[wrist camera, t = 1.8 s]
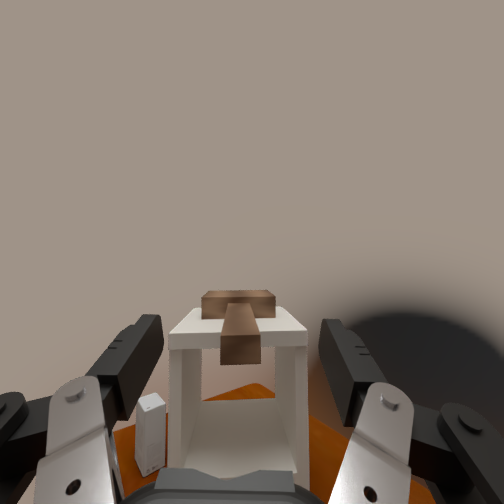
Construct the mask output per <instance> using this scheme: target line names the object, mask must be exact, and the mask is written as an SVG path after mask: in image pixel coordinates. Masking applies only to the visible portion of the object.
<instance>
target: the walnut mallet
mask: <svg viewBox="0 0 504 504" xmlns="http://www.w3.org/2000/svg"><path fill="white" fill-rule="evenodd" d="M275 303H276V300H275V296H274V295H273V294H272V293H270V292H269V291H268V290H241V291H240V290H239V291H208V292H207V293H206V294H205V295H204V296H203V297H202V307H201V320H204V319H224V323H223V327H222V331H221V335H220V349H221V350H220V365H241V364H242V365H243V364H261V334H260V331H259V328H258V326H257V323H256V320H255V318H276V306H275V305H276V304H275Z"/></svg>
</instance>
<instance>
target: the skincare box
mask: <svg viewBox="0 0 504 504" xmlns="http://www.w3.org/2000/svg"><path fill="white" fill-rule="evenodd" d="M165 427H166V403H165V402H164V401H163V400H162V399H161V397H160V396H159V395H158V394H157V393H152V394H149V395H146V396H143V397H141V398H139V400H138V402H137V405H136V438H135V460H136V462H137V465H138V467H139V469H140V471H141V474H142V476H143V477H145V476H147V475H149V474H151V473H153V472H154V471H156V470H158V469H160V468H161V467H163V466H164V465H165Z"/></svg>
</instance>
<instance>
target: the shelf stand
mask: <svg viewBox="0 0 504 504" xmlns="http://www.w3.org/2000/svg"><path fill="white" fill-rule="evenodd" d="M255 320H256V323H257V326H258V328H259V331H260V334H261V347H275V398H271V399H247V400H224V401H201V364H202V361H201V360H202V358H201V357H202V349H211V348H220V335H221V331H222V327H223V323H224V319H204V320H201V308H194V309H193V310H192V311H191V312H190V313H189V314H188V315H187V316H186V317H185V318H184V319H183V320H182V321H181V322H180V323H179V324H178V325H177V326H176V327H175V328H174V329H173V330H172V331H171V332H170V333H169V335H168V336H169V337H168V339H169V340H168V350H169V406H168V408H169V409H168V467H167V468H193V469H196V470H198V471H201V472H204V473H206V474H209V475H212V476H214V477H217V478H220V479H222V480H229V479H232V478H236V477H239V476H242V475H245V474H249V473H252V472H255V471H258V470H280V471H293V479H294V484H297V485H300V486H301V487H303V488H305V489H307V490H309V491H310V483H309V431H308V384H307V383H308V379H307V346H308V330H307V329H306V328H305V327H303V326H302V325H301V324H300V323H299V322H298V321H297V320H296V319H295V318H294V317H292V316H291V315H290V314H289V313H288V312H287V311H286V310H285V309H284V308H282V307H276V318H255Z"/></svg>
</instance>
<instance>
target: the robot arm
mask: <svg viewBox="0 0 504 504" xmlns="http://www.w3.org/2000/svg"><path fill="white" fill-rule="evenodd" d="M163 346H164V338H163V330H162V323H161V317H160V316H159V315H151V314H150V315H148V314H143V315H142V316H141V317H140V319H139V320H138V321H137V322H136V324H135V325H130V326H128V327H127V328H125V329H124V330H122V331H121V332H120V333H119V334H118V335H117V336H116V338H115V339H114V341H113V342H112V343H111V344H110V345H109V346H108V349H106V350H105V351H104V353H103V354H102V355H101V356H100V357H99V359H98V360H97V361H96V362H95V363H94V365H93V366H92V367H91V368H90V370H89V371H88V372H87V373H86V375H85V376H82V377H79V378H76V379H74V380H71V381H69V382H68V383H66V384H64V385H63V386H62V387H60V388H59V389H58V390H57V391H56V392H55V394H54V395H52V396H49V397H44V398H40V399H36V400H32V401H28V402H26V400H25V398H24V396H23V394H22V393H19V392H9V393H5V394H2V395H0V504H17V503H18V501H19V500H20V498H21V496H22V495H23V494H24V492H25V490H26V489H27V487H28V486H29V484H30V483H31V481H32V480H33V478H34V476H35V475H36V483H35V494H34V503H33V504H324V502H322V501H321V500H320V499H319V498H318V497H317V496H316V495H314V494H313V493H311V492H310V491H309V490H307V489H305V488H303V487H301V486H300V485H297V484H294V479H293V471H280V470H258V471H255V472H252V473H249V474H245V475H242V476H239V477H236V478H232V479H229V480H222V479H220V478H217V477H214V476H212V475H209V474H206V473H204V472H201V471H198V470H196V469H193V468H160V471H159V474H158V477H157V480H156V481H154V482H151V483H149V484H147V485H145V486H143V487H141V488H139V489H138V490H136V491H134V492H133V493H131V494H130V495H129V496H127V497H126V498H125V495H124V491H123V487H122V482H121V477H120V471H119V465H118V459H117V453H116V447H115V442H114V436H113V431H112V429H113V427H114V425H115V423H116V421H118V420H119V421H128V420H129V418H130V415H131V414H132V412H133V409H134V408H135V406H136V404H137V402H138V400H139V398H140V396H141V394H142V391H143V390H144V387H145V386H146V384H147V382H148V380H149V378H150V376H151V374H152V371H153V369H154V368H155V366H156V364H157V362H158V359H159V357H160V356H161V353H162V351H163ZM319 356H320V359H321V362H322V365H323V368H324V371H325V374H326V376H327V379H328V382H329V385H330V388H331V391H332V394H333V397H334V400H335V403H336V406H337V408H338V411H339V414H340V417H341V420H342V423H343V426H344V427H354V429H355V430H354V431H353V433H352V436H351V439H350V442H349V445H348V448H347V451H346V454H345V456H344V459H343V462H342V465H341V468H340V471H339V474H338V477H337V480H336V483H335V486H334V489H333V492H332V494H331V497H330V500H329V503H328V504H408V499H409V489H410V480H411V474H413V475H415V476H418V477H420V478H423V479H424V480H425V481H426V484H427V485H428V488H429V490H430V492H431V494H432V496H433V498H434V500H435V502H436V504H504V439H503V438H502V436H500V434H499V433H498V432H497V431H496V430H495V428H494V427H493V426H492V425H491V424H490V423H489V422H488V421H487V420H486V419H485V418H484V417H482V416H481V415H480V414H478V413H477V412H475V411H474V410H472V409H470V408H468V407H466V406H463V405H461V404H457V403H446V404H444V405H443V406H442V409H441V411H440V412H439V411H436V410H433V409H430V408H426V407H423V406H420V405H416V404H414V403H412V402H411V401H410V399H409V398H408V397H407V396H406V395H405V394H404V393H403V392H402V391H401V390H399V389H398V388H396V387H394V386H392V385H390V384H388V382H387V380H386V379H385V377H384V376H383V374H382V372H381V371H380V369H379V368H378V366H377V364H376V363H375V361H374V359H373V358H372V356H370V353H369V351H368V350H367V348H366V347H365V345H364V343H363V342H362V340H361V339H360V337H359V336H357V335H356V334H355V333H354V332H353V331H352V330H345V328H344V326H343V325H342V323H341V321H340V320H339V319H323V320H322V324H321V331H320V338H319Z"/></svg>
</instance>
